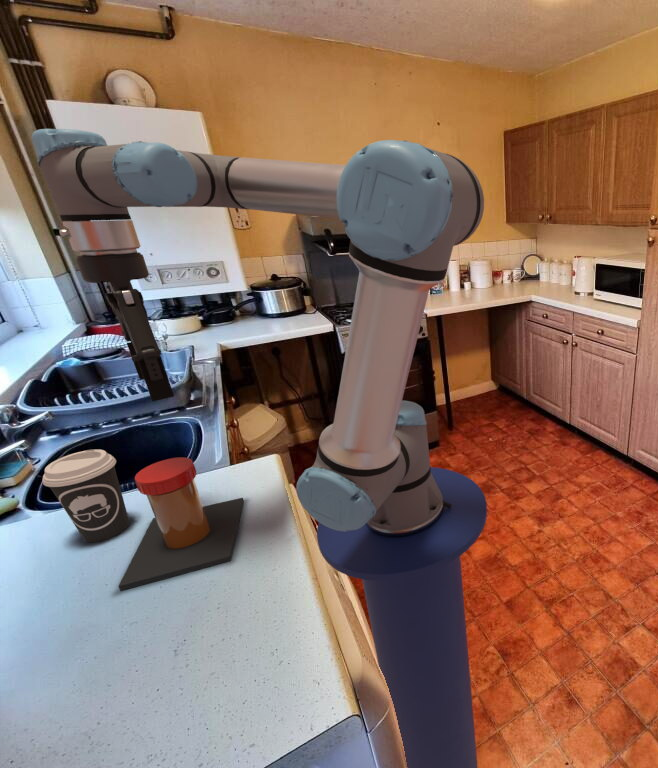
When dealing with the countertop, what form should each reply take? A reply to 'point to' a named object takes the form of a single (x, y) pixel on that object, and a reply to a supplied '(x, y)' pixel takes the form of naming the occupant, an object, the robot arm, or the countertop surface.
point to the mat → (185, 548)
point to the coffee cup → (89, 493)
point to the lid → (165, 476)
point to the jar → (180, 516)
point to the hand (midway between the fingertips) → (156, 387)
